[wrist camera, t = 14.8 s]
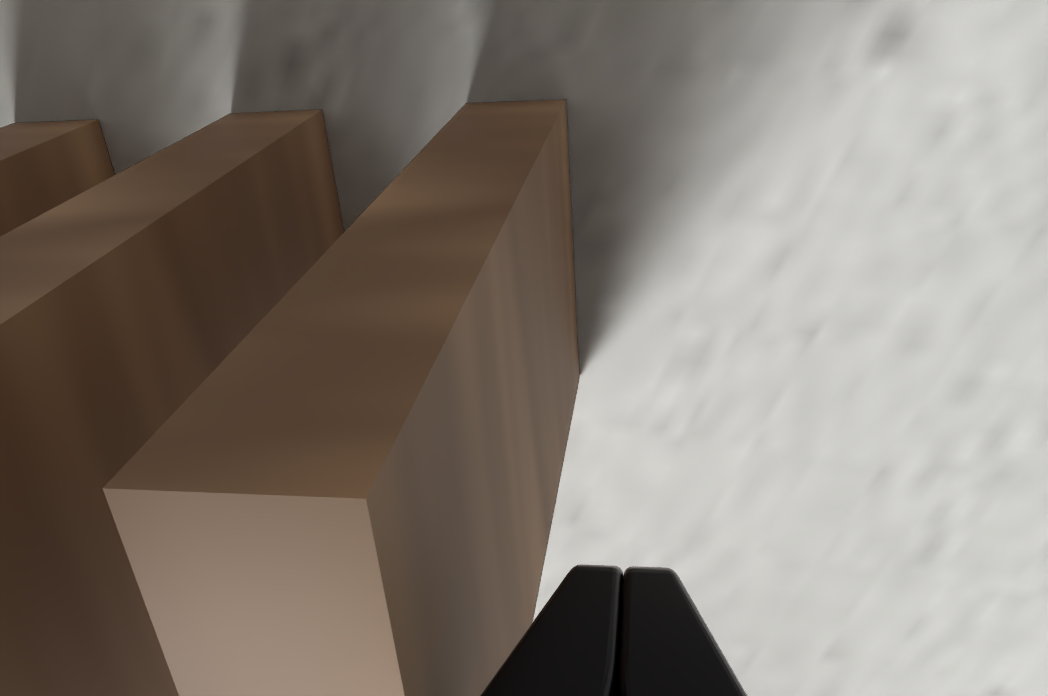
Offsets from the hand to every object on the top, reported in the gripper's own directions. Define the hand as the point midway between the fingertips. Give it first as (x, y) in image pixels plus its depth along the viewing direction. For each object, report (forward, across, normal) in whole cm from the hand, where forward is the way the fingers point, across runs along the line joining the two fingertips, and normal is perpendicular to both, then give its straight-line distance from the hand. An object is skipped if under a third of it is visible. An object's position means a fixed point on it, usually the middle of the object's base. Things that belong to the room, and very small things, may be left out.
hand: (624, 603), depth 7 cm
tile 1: (+8, +2, 0) cm, 8 cm away
